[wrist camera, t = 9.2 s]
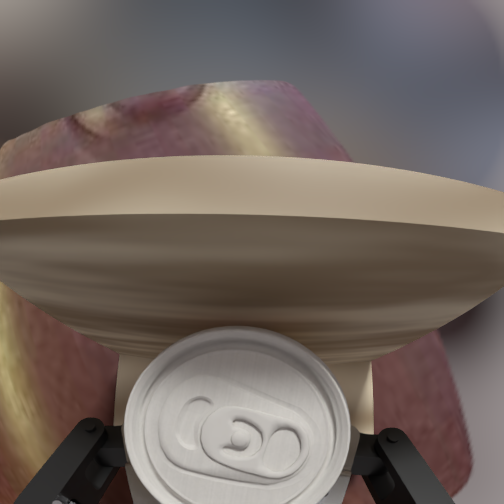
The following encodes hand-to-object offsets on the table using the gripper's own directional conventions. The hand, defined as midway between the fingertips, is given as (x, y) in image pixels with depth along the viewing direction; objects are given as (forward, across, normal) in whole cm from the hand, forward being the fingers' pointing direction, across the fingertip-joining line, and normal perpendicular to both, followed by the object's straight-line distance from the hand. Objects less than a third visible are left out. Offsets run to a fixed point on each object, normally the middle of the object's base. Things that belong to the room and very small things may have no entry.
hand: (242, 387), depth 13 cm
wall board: (+7, 0, +9) cm, 12 cm away
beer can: (+4, 0, +6) cm, 8 cm away
